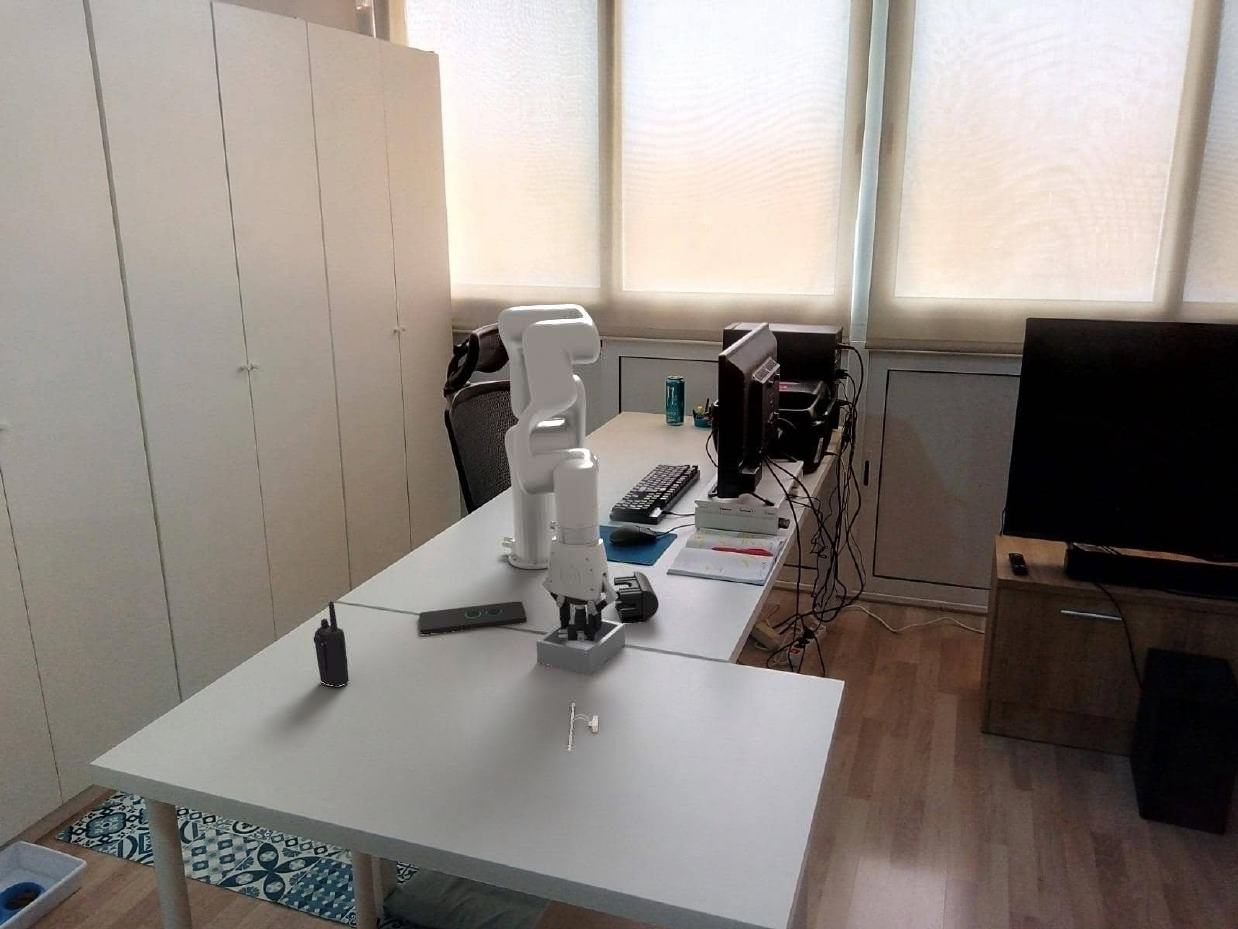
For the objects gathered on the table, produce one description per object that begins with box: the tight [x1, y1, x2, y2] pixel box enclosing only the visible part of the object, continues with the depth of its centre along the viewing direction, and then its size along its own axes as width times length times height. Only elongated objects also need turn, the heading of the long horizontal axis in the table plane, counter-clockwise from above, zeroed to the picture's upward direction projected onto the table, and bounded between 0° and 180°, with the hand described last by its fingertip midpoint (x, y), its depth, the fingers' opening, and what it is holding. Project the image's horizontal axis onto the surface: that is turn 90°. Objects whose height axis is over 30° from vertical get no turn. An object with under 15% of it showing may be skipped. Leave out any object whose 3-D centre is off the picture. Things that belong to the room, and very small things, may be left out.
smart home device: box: [419, 600, 528, 635], centre depth 172 cm, size 8×2×20 cm
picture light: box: [567, 703, 599, 749], centre depth 136 cm, size 14×4×2 cm, turn 0°
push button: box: [559, 597, 595, 641], centre depth 157 cm, size 7×5×10 cm
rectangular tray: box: [535, 612, 626, 676], centre depth 158 cm, size 11×13×4 cm
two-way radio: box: [313, 601, 350, 686], centre depth 147 cm, size 6×4×15 cm
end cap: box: [613, 570, 660, 624], centre depth 173 cm, size 10×7×7 cm
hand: (580, 628), depth 157 cm, fingers closed on push button, 5 cm apart
